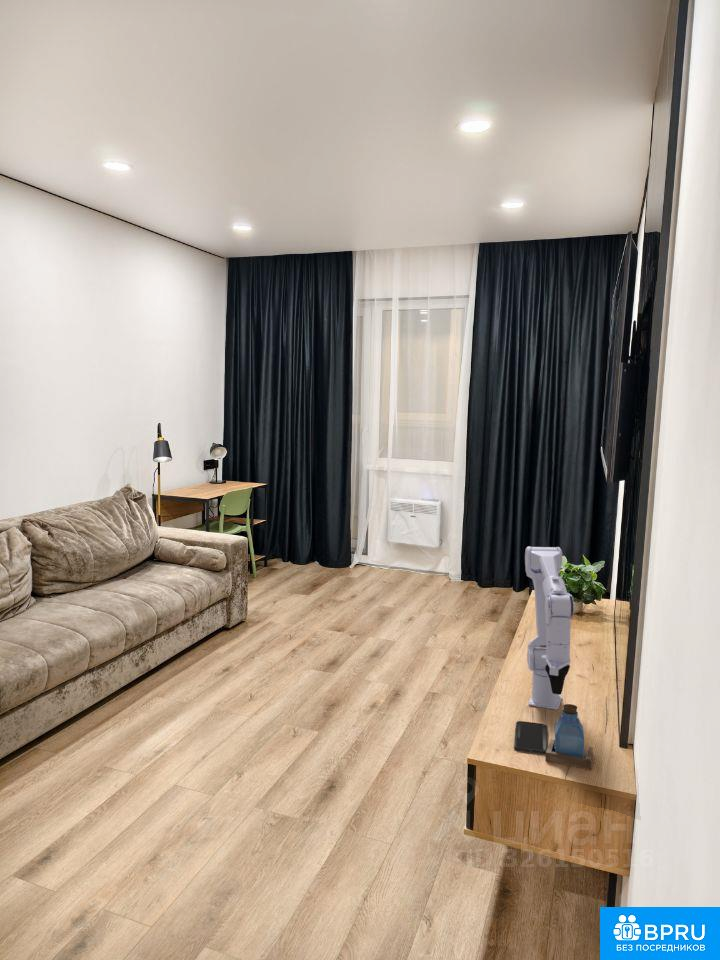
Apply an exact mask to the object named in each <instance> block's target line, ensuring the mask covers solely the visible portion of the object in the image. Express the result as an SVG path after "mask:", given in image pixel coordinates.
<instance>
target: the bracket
mask: <svg viewBox="0 0 720 960" xmlns="http://www.w3.org/2000/svg"><path fill="white" fill-rule="evenodd" d="M593 758H594V747H593V746H588V750H587V753H586V757H584V758H582V757H577V756H572V755H567V754H562V753H557V752H555V738H554V739H553V738H550V740H549V742H548V744H547V750H546V754H545V759H544V760H545V761H546V762H549V763H550V762H551V763H556V764H559V765H560V764H561V765H566V766H569V767H574V766H576V768H579V769H584V768H585V770H589V771H592V762H593Z"/></svg>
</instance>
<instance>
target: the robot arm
mask: <svg viewBox="0 0 720 960" xmlns="http://www.w3.org/2000/svg"><path fill="white" fill-rule="evenodd" d="M524 564H525V565H524V566H525V573H526V577H528V578H530V579H531V580H532V583H533V587H534V589H533V590H534V605H535V620H536V623H535V624H536V626H535V628H536V636H535V637H534V638H533V639H531V640H530V641H528V644H527V655H526V661H527V667H528V669H529V671H531V672H532V681H531V683H532V684H531V686H532V687H531V690H532V691H531V696H530V700H529V701H528V706H533V707H539V708H543V709H549V710H555V711H558V710H559V708H560V705H561V702H562V699H563V696H562V692H563V689H564V686H565V678H566V677H567V675H568V673H569V670H570V668H571V658H570V657H571V623H572V621H571V619H572V618H573V617H574V613H575V602H574V597H573V595H572V594H570V592H569V593H568V592H567V591H568V590H567V587H566V584H565V581H564V579H563V578H562V577H561V576H559V574H560V572H561V568H562V566H563V551H562V549H561V547H559V546H556V547H555V546H554V547H553V546H552V547H551V546H545V547H544V546H530V545H529V546H527V547H526V548H525V552H524Z"/></svg>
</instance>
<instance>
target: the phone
mask: <svg viewBox="0 0 720 960" xmlns="http://www.w3.org/2000/svg"><path fill="white" fill-rule="evenodd" d="M514 731H515V732H514V741H513V742H514V743H513V749H514V750H515V751H517V752H521V753H522V752H523V753H529V754H537V755H546V750H547V748H548V725H547V724H545V723H540V722H532V721H524V720H517V721H516V722H515V729H514Z"/></svg>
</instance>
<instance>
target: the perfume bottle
mask: <svg viewBox="0 0 720 960" xmlns="http://www.w3.org/2000/svg"><path fill="white" fill-rule="evenodd" d="M562 708H563V709H562V715H560V716H559V718H557V721H556V722H555V731H554V733H555V734H554V740H555V748H554V752H557V753H562V754H567V755H572V756H577V757H582V758H585V735H584V728H583V727H584V726H583V724H582V723H581V722H582V721H581V720H580V719H579V712H578V706H577V705H575V704H571V703H565V704H563V706H562Z"/></svg>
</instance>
